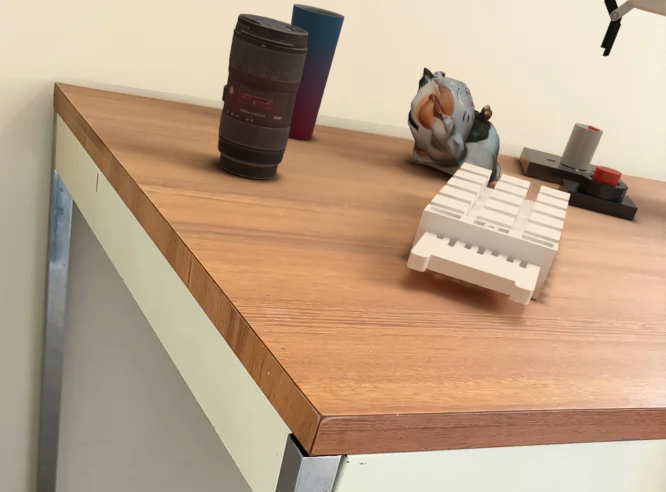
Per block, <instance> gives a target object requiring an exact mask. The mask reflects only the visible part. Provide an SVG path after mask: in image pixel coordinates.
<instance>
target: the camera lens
mask: <svg viewBox="0 0 666 492" xmlns="http://www.w3.org/2000/svg"><path fill="white" fill-rule="evenodd" d="M234 27H235V28H233V33H232V39H231V43H230V51H229V57H228V68H227V70H228V71H227V72H228V74H227V81H226V84H224V85H223V88H222V89H223V90H222V96H221V101H222V102H223V106H222V110H221V114H220V119H219V126H218V143H217V150H218V151H219V153H220V155H219V163H218V164H219V166H220V168H222V170H225V171H226V172H229V173H231V174H234V175H237V176H240V177H244V178H250V179H255V180H268V179H269V180H271V179H274V178H275V177H276V175H277V171H278V167H279V165H280V164H281V163H282V162H283V159H284V155H285V151H286V149H287V145H288V141H289V138H290V137H289V132H290V124H291V119H292V114H293V109H294V103H295V98H296V93H297V90H298V87H299V85H300V81H301V78H302V73H303V68H304V63H305V58H306V54H307V49H308V48H307V40H308V32H306V31H305V30H303V29H301V28H299V27H296V26H293V25H291V23H288V22H285V21H281V20H278V19H275V18H271V17H267V16H264V15H263V16H262V15H258V14H252V13H239V14H238V16H237V21H236V24H235V26H234Z"/></svg>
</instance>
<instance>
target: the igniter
mask: <svg viewBox="0 0 666 492" xmlns="http://www.w3.org/2000/svg"><path fill="white" fill-rule="evenodd" d="M593 174H594V173H588V172H585V173H582V174H581V176H580V179H579V181H578V183H576V182H573V181H569V180H565V179H562V181H561V183H560V184H559V186H558V188H557V190H559V191H562V192H566V193H569V194H570V198H569V201H568V205H570V206H573V207H578V208H581V209H586V210H589V211H592V212H593V211H594V212H598V213H601V214H605V215H609V216H613V217H617V218H620V219H625V220H628V221H631V222H632V221H634V218H635V216H636V214H637V212H638V210H639V208H638V206H637V205H636V203H634V201H633V200H632V198H631V197H630V195H627V193H628V192H627V191H628V189H629V186H628V185H627V184H626V183H625V182H624V183H622V182H620V181H619V182H618V184H617V185H610V184H607V183H603V182H600V181H597V180H595V179H593V178H592V176H593Z"/></svg>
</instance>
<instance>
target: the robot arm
mask: <svg viewBox="0 0 666 492" xmlns="http://www.w3.org/2000/svg"><path fill="white" fill-rule="evenodd" d="M603 2H604V3H603V4H604V5H605V9H606V10H607V13H608V16H609V19H610V21H609V23H608V26H607V29H606V32H605V34H604V36H603V39H602V42H601V44H600V48H601V49H603V50H604V51H603V53H602V57H605V58H606V57H609V56H610V54H611V52H612V48H613V46H614V45H615V41H616V39H617V36H618V34H619V31H620V29H621V26H622V23H621V22H622V19H623V17H624V16H625V15H626V14H628V13H629V12H631V11H632V10H633V9H636V10H640V11H643V12H647V13H650V14H651V13H652V14H655V15H658V16H662V17H666V0H626V1H625V2H623V3H622V4H621V5H620V6H619V5H618V3H617V0H603Z"/></svg>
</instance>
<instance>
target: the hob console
mask: <svg viewBox="0 0 666 492" xmlns="http://www.w3.org/2000/svg"><path fill="white" fill-rule="evenodd" d="M561 158H562V155H558V154H553V153H549V152H547V151H546V152H545V151H543V150H542V151H541V150H538V149H534V148H530V147H526V146H524V147H523V148H522V151H521V153H520V156H519V163H520V165H521V168H522V171H523V174H524V176H526V177H531V178H535V179H538V180H541V181H546V182H549V183H554V184H558V185H560V183H561V181H562V179H565V180H569V181H573V182H576V183H578V181H579V179H580V176H581V174H582V173H585V172H588V173H594V172H595V169H596V167H597V166H598V165H596V164H592V163H590V165H589V168H588V170H579V169H575V168H572V167H569V166H566V165H564V164H562V163H561V162H560V160H561ZM619 181H620V182H622V183H624V184H625V182H624V181H623V180H622V177H620V180H619Z"/></svg>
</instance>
